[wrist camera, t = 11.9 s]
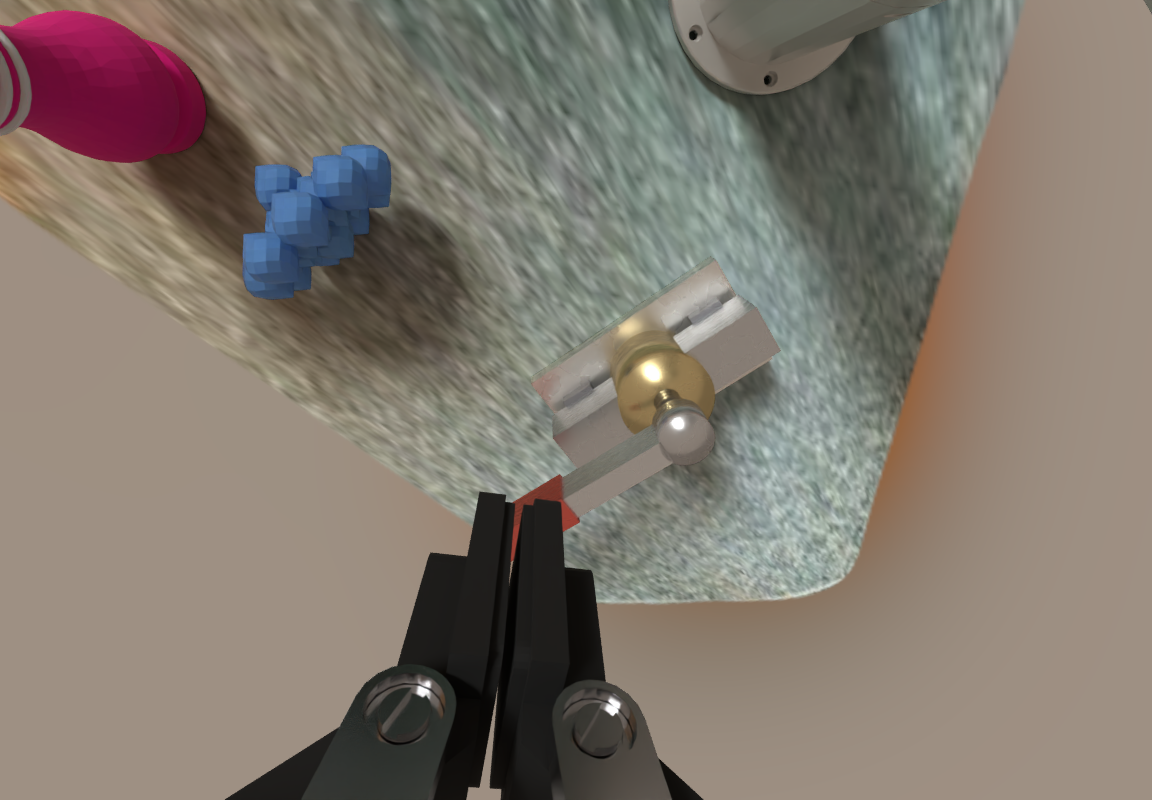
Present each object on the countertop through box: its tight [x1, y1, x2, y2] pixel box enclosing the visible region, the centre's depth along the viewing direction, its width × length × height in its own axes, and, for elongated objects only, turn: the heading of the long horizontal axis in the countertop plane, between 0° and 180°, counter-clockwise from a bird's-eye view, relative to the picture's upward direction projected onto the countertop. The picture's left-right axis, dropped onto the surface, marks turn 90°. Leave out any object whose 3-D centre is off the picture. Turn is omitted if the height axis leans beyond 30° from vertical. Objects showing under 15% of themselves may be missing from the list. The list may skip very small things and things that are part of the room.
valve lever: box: [511, 399, 715, 561], centre depth 34 cm, size 16×3×3 cm, turn 123°
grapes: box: [243, 145, 391, 300], centre depth 32 cm, size 12×7×12 cm, turn 132°
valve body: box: [531, 256, 781, 468], centre depth 39 cm, size 16×9×10 cm, turn 125°
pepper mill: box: [0, 10, 206, 163], centre depth 25 cm, size 7×7×20 cm
